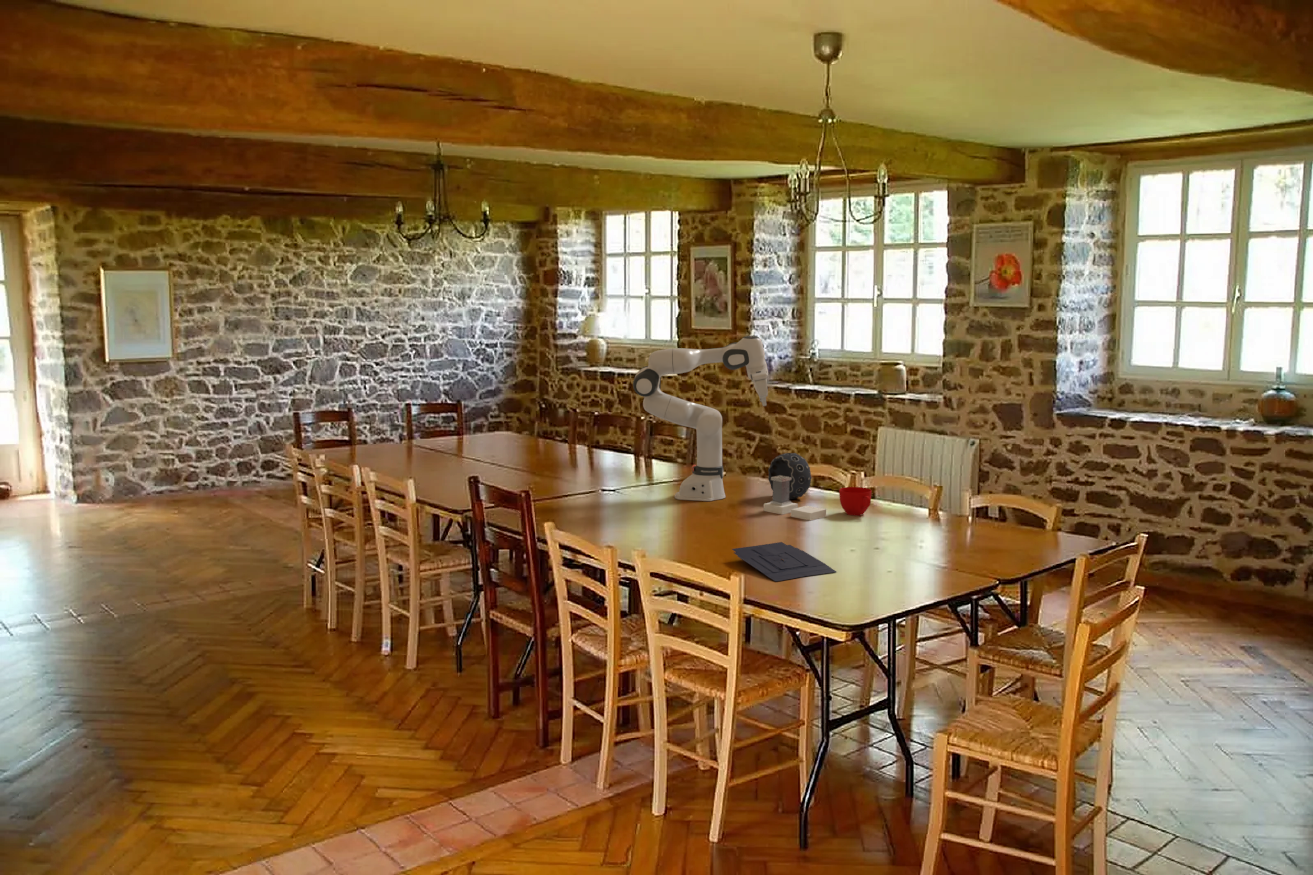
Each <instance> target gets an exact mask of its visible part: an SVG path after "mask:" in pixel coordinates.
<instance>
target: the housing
mask: <svg viewBox="0 0 1313 875" xmlns="http://www.w3.org/2000/svg"><path fill="white" fill-rule="evenodd" d="M771 480H773V490H772V500H770V502H771V504H774V505H779V506H784V505H788V504H791V503H792V501H791V500H790V499H789V480H791V477H787V476H781V475H780V476H775V477H771Z"/></svg>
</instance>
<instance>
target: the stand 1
mask: <svg viewBox="0 0 1313 875" xmlns="http://www.w3.org/2000/svg"><path fill="white" fill-rule="evenodd" d="M795 508H799V503H795V502H791V504H788V505H784V506H779V505H774V504H771V501H770V502H767V503H766V502H765V503H763V511H764V512H768V513H773V514H778V515H786V514H791V509H795Z"/></svg>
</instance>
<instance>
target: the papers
mask: <svg viewBox="0 0 1313 875" xmlns="http://www.w3.org/2000/svg"><path fill="white" fill-rule="evenodd" d="M731 550H732V551H734V552H733V554H735V555H736V556H737V557H738V558H740V560H742V561H744V562H746V563H747V564H749V565H750V566H752V567H753V568H755V569H756V570H757V571H759V572H761V573H762V574H763V575H765V576H766V577H768V578H769V579H771V580H773V581H774V582H781V581H786V580H792V579H796V578H797V579H798V578H803V577H808V576H818V575H824V574H831V573H832V574H833V573H837V571H836V570H835V569H833V568H832V567H831V566H829V565H827V564H826V563H825V562H823V561H821V560H819V559H818V558H816V557H815V556H812V555H811V554H809V553H808V552H806V551H804V550H802V549H800V548H798V547H795V546H793V545H791V544H786V543H785V542H782V541H780V542H778V541H777V542H774V543H773V542H772V543H765V544H759V545H752V546H750V545H749V546H743V547H736V548H731Z"/></svg>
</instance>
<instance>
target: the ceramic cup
mask: <svg viewBox="0 0 1313 875" xmlns="http://www.w3.org/2000/svg"><path fill="white" fill-rule="evenodd" d="M838 492H839V502H840V505H841V506H840V507H842V509H843V511H844V513H846V515H848V516H855V517H856V516H862V515H864V513H865V512H867V511H868V509H869V507H870V506H871V502H872V501H871V500H872V489H871V488H867V487H861V486H847V487H841V488H839V490H838Z"/></svg>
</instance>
